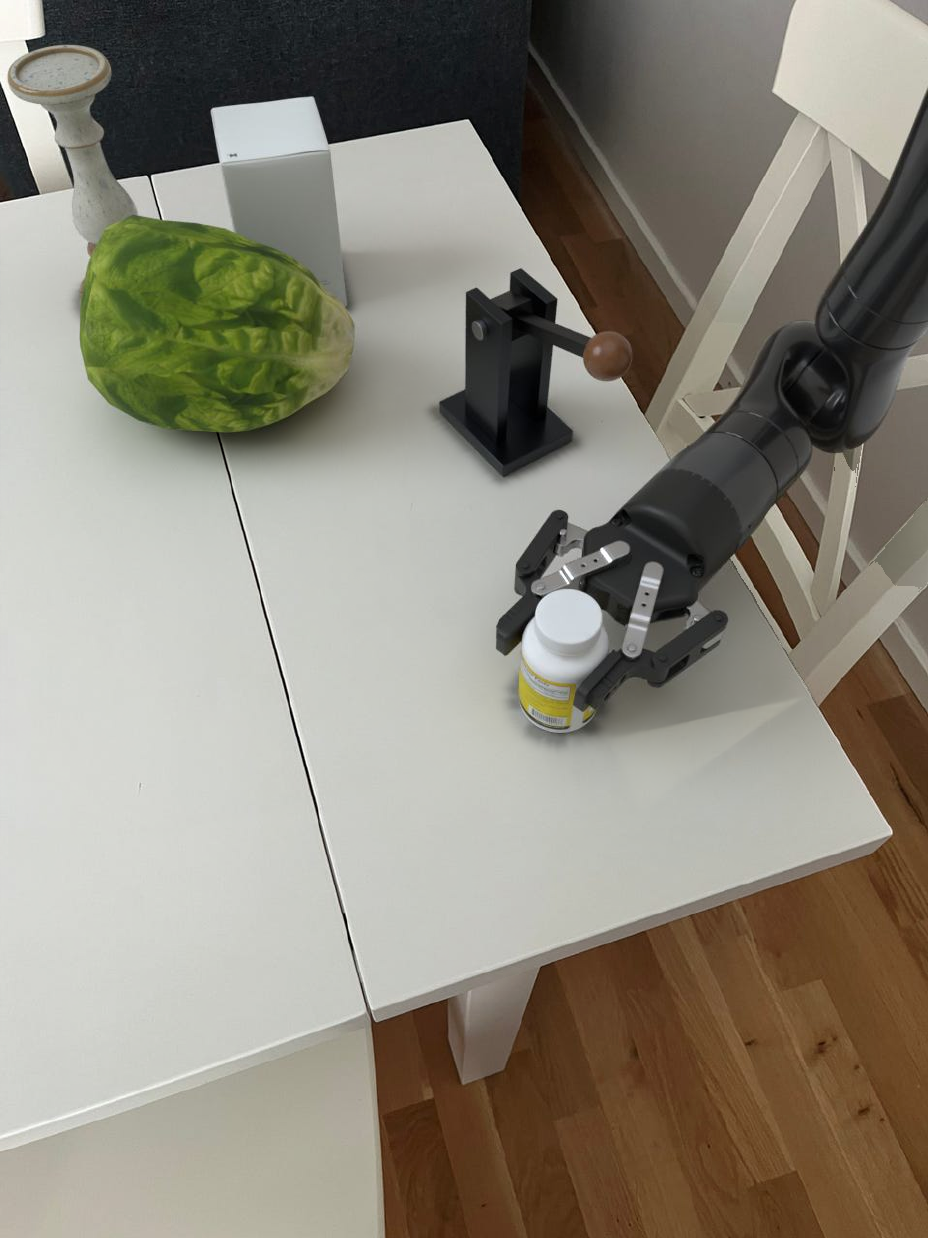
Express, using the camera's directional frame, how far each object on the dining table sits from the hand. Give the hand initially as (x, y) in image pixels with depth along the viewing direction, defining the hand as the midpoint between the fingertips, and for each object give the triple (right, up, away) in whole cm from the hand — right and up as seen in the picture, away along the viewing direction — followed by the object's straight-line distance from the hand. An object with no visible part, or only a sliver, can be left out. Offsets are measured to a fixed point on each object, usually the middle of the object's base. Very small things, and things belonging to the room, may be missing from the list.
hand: (539, 673), depth 59 cm
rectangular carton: (-20, +34, +32) cm, 51 cm away
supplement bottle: (+2, -2, +7) cm, 7 cm away
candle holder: (-35, +33, +32) cm, 58 cm away
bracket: (-1, +19, +22) cm, 29 cm away
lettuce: (-24, +22, +24) cm, 40 cm away
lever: (+2, +22, +10) cm, 24 cm away
